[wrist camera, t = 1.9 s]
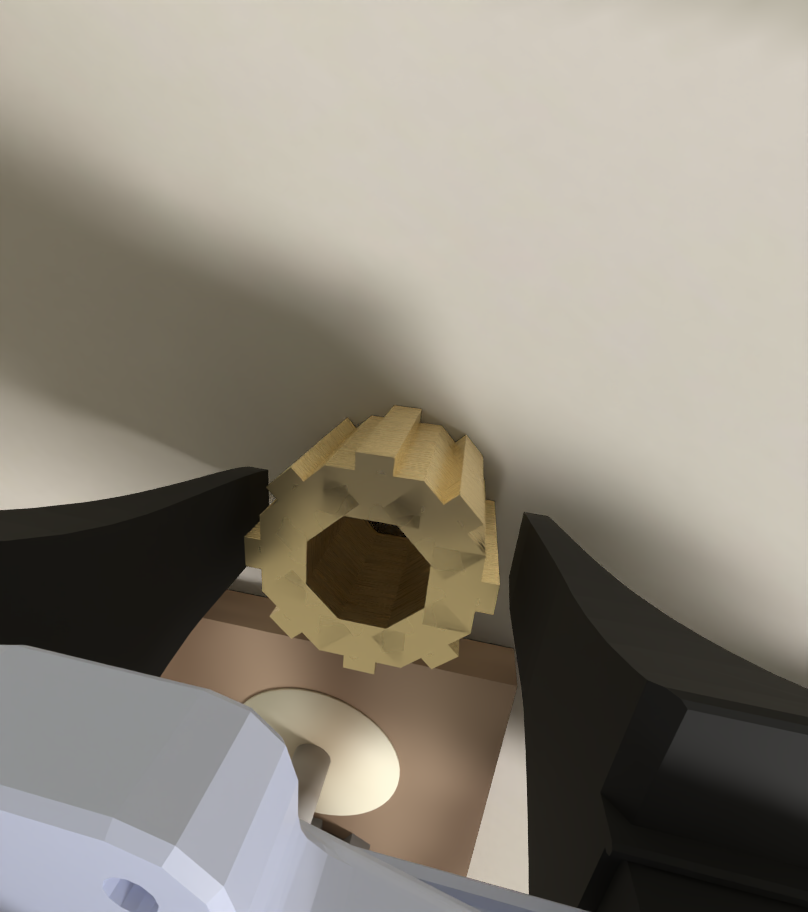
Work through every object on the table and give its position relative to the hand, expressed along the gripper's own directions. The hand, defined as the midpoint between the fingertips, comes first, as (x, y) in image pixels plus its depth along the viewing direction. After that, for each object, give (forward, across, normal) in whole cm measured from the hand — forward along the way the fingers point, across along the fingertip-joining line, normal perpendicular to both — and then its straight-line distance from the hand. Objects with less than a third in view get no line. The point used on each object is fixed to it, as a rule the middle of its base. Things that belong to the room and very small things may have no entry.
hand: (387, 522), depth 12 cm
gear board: (+2, +2, +15) cm, 15 cm away
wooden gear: (+2, 0, 0) cm, 2 cm away
